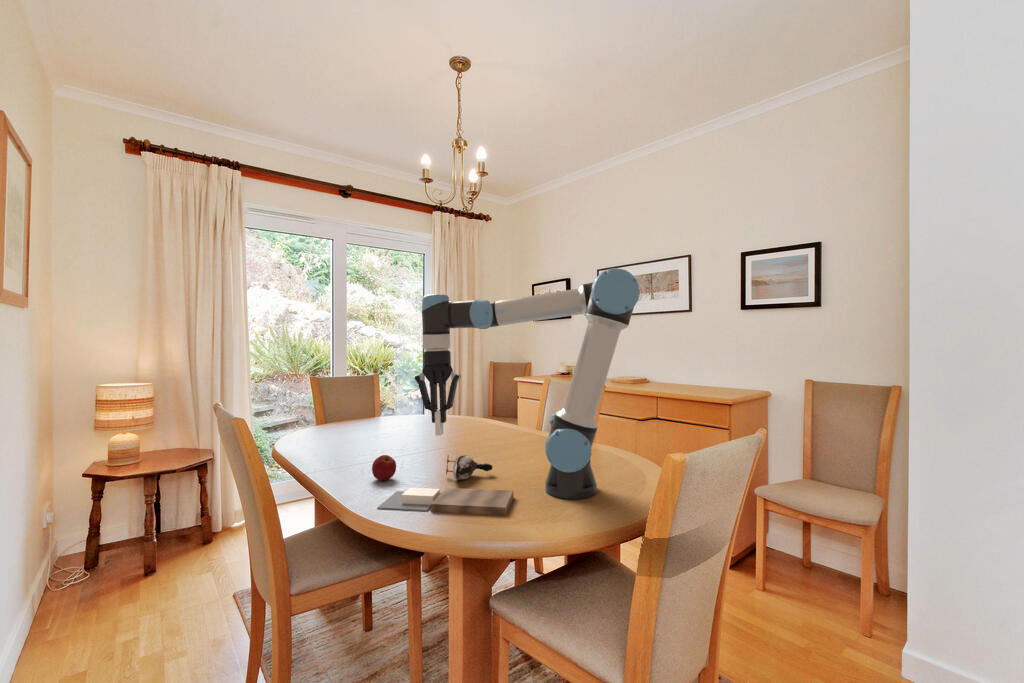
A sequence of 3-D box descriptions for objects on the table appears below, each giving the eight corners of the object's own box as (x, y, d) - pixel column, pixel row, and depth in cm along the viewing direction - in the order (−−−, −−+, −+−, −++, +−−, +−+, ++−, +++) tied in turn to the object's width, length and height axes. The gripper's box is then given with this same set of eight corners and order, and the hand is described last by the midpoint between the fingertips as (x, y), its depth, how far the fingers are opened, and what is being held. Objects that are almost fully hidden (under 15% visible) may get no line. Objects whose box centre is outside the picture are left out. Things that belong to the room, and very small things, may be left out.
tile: (440, 497, 130) (440, 488, 130) (433, 505, 124) (433, 496, 124) (410, 495, 131) (409, 487, 131) (401, 503, 125) (401, 494, 125)
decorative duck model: (493, 453, 155) (493, 464, 140) (491, 476, 155) (491, 488, 140) (449, 450, 154) (444, 460, 139) (447, 472, 154) (442, 485, 139)
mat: (442, 494, 133) (442, 493, 133) (427, 511, 121) (427, 509, 121) (396, 492, 136) (396, 491, 136) (377, 508, 123) (377, 507, 123)
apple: (371, 485, 143) (371, 459, 143) (372, 477, 151) (372, 453, 151) (396, 482, 145) (396, 457, 145) (396, 475, 153) (395, 451, 153)
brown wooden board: (513, 497, 130) (513, 490, 130) (505, 515, 117) (505, 507, 117) (445, 494, 133) (445, 487, 133) (430, 511, 120) (430, 504, 120)
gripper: (462, 349, 131) (465, 431, 131) (419, 350, 132) (421, 431, 133) (456, 349, 123) (458, 437, 123) (409, 351, 125) (412, 437, 125)
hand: (439, 434), depth 128 cm, fingers closed
